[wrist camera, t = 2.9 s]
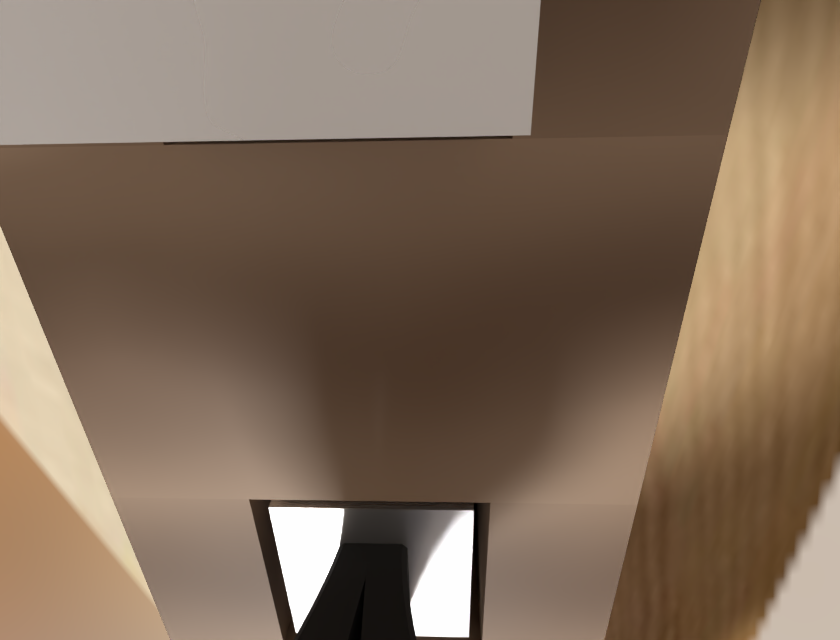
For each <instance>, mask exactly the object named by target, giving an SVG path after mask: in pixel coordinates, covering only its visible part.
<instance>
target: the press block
mask: <svg viewBox="0 0 840 640" xmlns="http://www.w3.org/2000/svg"><path fill="white" fill-rule="evenodd" d="M760 2H761V0H541V4H540V17H539V30H538V43H537V56H536V70H535V83H534V96H533V109H532V123H531V135H516V136H461V137H406V138H351V139H297V140H242V141H187V142H132V143H78V144H23V145H0V226H1V228H2V231H3V233H4V236H5V238H6V241H7V243H8V246H9V248H10V250H11V253H12V255H13V258H14V260H15V263H16V265H17V267H18V270H19V272H20V275H21V277H22V280H23V282H24V285H25V287H26V289H27V292H28V294H29V297H30V299H31V302H32V304H33V306H34V309H35V311H36V314H37V316H38V319H39V321H40V324H41V326H42V328H43V331H44V333H45V336H46V338H47V341H48V343H49V345H50V348H51V350H52V353H53V355H54V358H55V360H56V362H57V365H58V367H59V370H60V372H61V375H62V377H63V380H64V382H65V384H66V387H67V389H68V392H69V394H70V397H71V399H72V401H73V404H74V406H75V409H76V411H77V414H78V416H79V419H80V421H81V423H82V426H83V428H84V431H85V433H86V436H87V438H88V440H89V443H90V445H91V448H92V450H93V453H94V455H95V458H96V460H97V462H98V465H99V467H100V470H101V472H102V475H103V477H104V479H105V482H106V484H107V487H108V489H109V492H110V494H111V497H112V499H113V501H114V504H115V506H116V509H117V511H118V514H119V516H120V518H121V521H122V523H123V526H124V528H125V531H126V533H127V536H128V538H129V540H130V543H131V545H132V548H133V550H134V553H135V555H136V557H137V560H138V562H139V565H140V567H141V570H142V572H143V575H144V577H145V579H146V582H147V584H148V587H149V589H150V592H151V594H152V596H153V599H154V601H155V604H156V606H157V609H158V611H159V614H160V616H161V618H162V620H163V623H164V626H165V628H166V631H167V633H168V635H169V638H170V640H294V638H295V637H296V635H297V633H296V631H295V626H294V622H293V617H292V613H291V608H290V604H289V599H288V594H287V590H286V585H285V581H284V576H283V572H282V567H281V562H280V558H279V553H278V549H277V544H276V540H275V535H274V530H273V526H272V521H271V517H270V512H269V505H270V503H271V500H330V501H401V502H472V503H473V505H474V521H473V546H472V571H471V596H470V621H469V637H434V636H416V639H417V640H604V639H605V635H606V631H607V627H608V623H609V619H610V615H611V611H612V607H613V603H614V598H615V594H616V590H617V586H618V582H619V578H620V574H621V570H622V566H623V562H624V558H625V553H626V549H627V545H628V541H629V537H630V533H631V529H632V525H633V521H634V517H635V513H636V509H637V504H638V500H639V496H640V492H641V488H642V484H643V480H644V476H645V472H646V468H647V464H648V459H649V455H650V451H651V447H652V443H653V439H654V435H655V431H656V427H657V423H658V419H659V415H660V410H661V406H662V402H663V398H664V394H665V390H666V386H667V382H668V378H669V374H670V370H671V365H672V361H673V357H674V353H675V349H676V345H677V341H678V337H679V333H680V329H681V325H682V321H683V316H684V312H685V308H686V304H687V300H688V296H689V292H690V288H691V284H692V280H693V276H694V271H695V267H696V263H697V259H698V255H699V251H700V247H701V243H702V239H703V235H704V231H705V226H706V222H707V218H708V214H709V210H710V206H711V202H712V198H713V194H714V190H715V186H716V182H717V177H718V173H719V169H720V165H721V161H722V157H723V153H724V149H725V145H726V141H727V137H728V132H729V128H730V124H731V120H732V116H733V112H734V108H735V104H736V100H737V96H738V92H739V88H740V83H741V79H742V75H743V71H744V67H745V63H746V59H747V55H748V51H749V47H750V43H751V38H752V34H753V30H754V26H755V22H756V18H757V14H758V10H759V6H760Z"/></svg>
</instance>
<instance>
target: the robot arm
mask: <svg viewBox="0 0 840 640" xmlns="http://www.w3.org/2000/svg"><path fill="white" fill-rule="evenodd" d="M294 640H417V639H416V634H415V629H414V624H413V618H412V611H411V604H410V588H409V567H408V548H407V547H406V546H404V545H403V544H374V543H343V544H342V545H341V546H339V548H338V551H337V553H336V556H335V558H334V560H333V563H332V565H331V567H330V569H329V572H328V574H327V576H326V578H325V580H324V582H323V585H322V587H321V589H320V591H319V593H318V595H317V597H316V599H315V601H314V603H313V605H312V607H311V609H310V611H309V613H308V614H307V616H306V618H305V620H304V622H303V624H302V625H301V627H300V629H299V631H298V633H297V635H296V637H295V638H294Z"/></svg>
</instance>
